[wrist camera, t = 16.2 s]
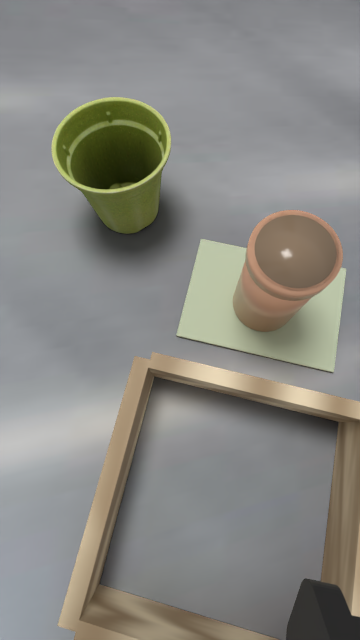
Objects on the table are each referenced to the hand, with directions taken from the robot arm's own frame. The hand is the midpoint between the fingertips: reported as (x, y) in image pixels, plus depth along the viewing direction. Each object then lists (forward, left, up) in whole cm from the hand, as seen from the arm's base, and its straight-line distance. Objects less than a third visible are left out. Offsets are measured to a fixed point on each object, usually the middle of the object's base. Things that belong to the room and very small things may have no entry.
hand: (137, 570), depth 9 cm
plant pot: (-10, +23, -21) cm, 33 cm away
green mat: (+5, +16, -21) cm, 26 cm away
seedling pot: (+5, +16, -20) cm, 26 cm away
